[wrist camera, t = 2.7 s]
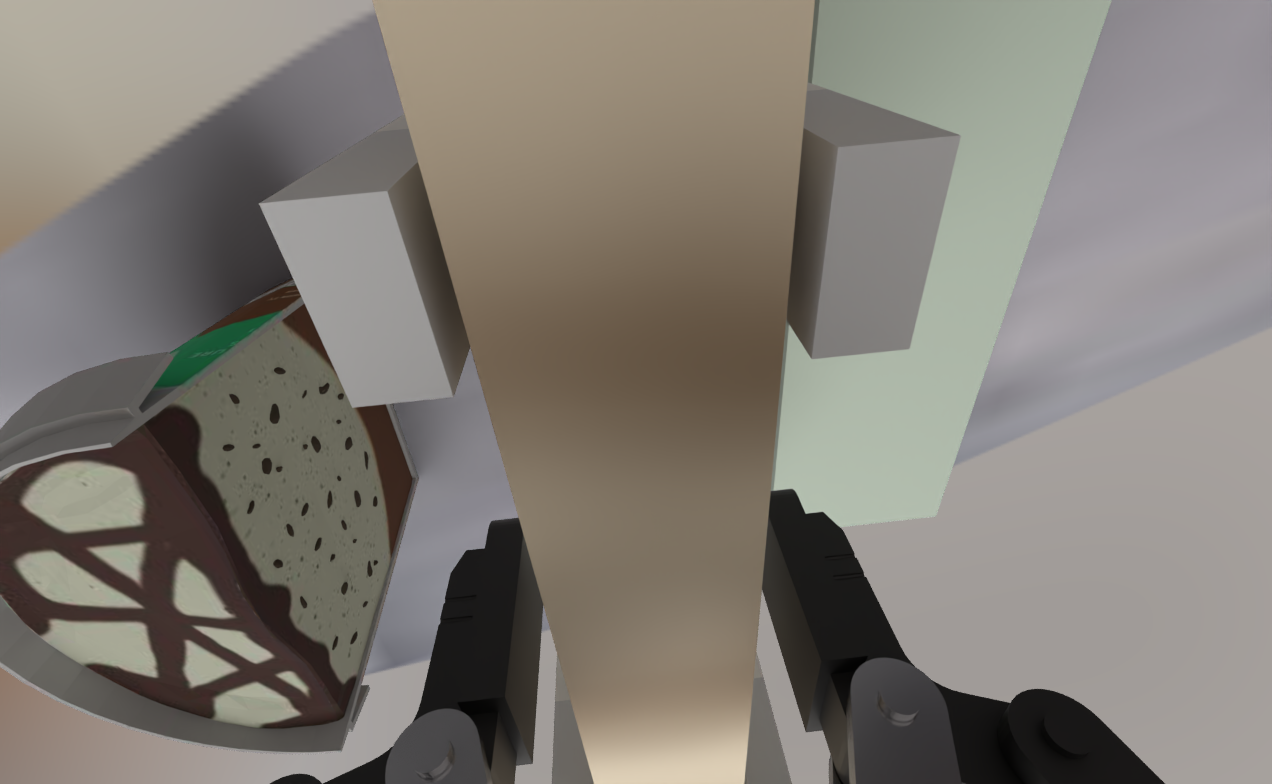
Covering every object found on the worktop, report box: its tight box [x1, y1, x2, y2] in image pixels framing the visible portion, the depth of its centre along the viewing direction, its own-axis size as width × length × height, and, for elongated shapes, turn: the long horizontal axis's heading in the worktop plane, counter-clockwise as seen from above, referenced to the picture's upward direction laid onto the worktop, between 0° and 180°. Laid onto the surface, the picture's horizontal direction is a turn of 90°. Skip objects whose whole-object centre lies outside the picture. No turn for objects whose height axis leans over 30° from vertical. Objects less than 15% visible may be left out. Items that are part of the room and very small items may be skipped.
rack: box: [259, 83, 961, 784], centre depth 14 cm, size 20×7×13 cm, turn 4°
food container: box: [0, 278, 419, 754], centre depth 16 cm, size 12×6×10 cm, turn 2°
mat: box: [771, 0, 1112, 527], centre depth 20 cm, size 24×8×1 cm, turn 4°
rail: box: [372, 0, 815, 784], centre depth 10 cm, size 20×3×3 cm, turn 4°
